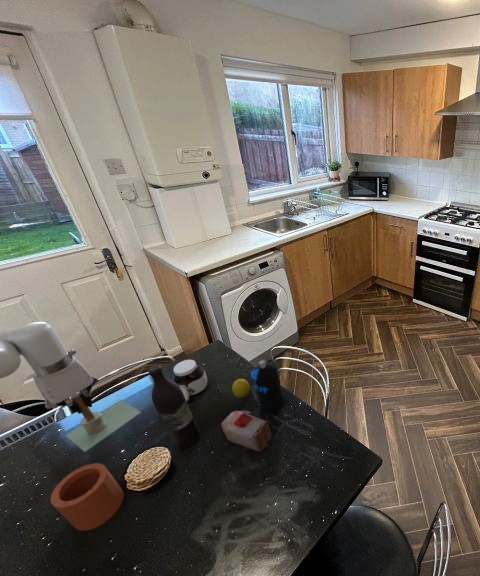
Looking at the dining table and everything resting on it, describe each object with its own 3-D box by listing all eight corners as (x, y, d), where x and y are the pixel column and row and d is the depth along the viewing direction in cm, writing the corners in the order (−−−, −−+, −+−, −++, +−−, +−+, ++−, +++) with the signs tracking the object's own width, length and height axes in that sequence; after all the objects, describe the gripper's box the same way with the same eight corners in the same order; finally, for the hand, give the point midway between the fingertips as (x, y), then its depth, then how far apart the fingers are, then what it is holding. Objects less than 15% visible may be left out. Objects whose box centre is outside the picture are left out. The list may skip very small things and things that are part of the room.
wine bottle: (173, 452, 93) (135, 381, 79) (176, 433, 99) (141, 363, 84) (200, 444, 96) (167, 372, 81) (201, 425, 102) (171, 356, 87)
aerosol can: (277, 391, 114) (268, 349, 104) (288, 404, 109) (279, 362, 99) (256, 404, 109) (243, 361, 99) (266, 418, 104) (255, 375, 94)
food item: (222, 442, 96) (214, 421, 92) (240, 421, 103) (233, 401, 98) (259, 456, 93) (252, 435, 88) (275, 433, 99) (270, 412, 94)
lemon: (232, 401, 110) (226, 385, 106) (240, 389, 115) (236, 373, 111) (246, 403, 110) (241, 387, 106) (254, 391, 114) (250, 375, 110)
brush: (92, 437, 97) (69, 404, 90) (84, 431, 99) (61, 398, 92) (110, 425, 101) (88, 392, 93) (102, 419, 103) (80, 387, 95)
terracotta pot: (86, 539, 74) (63, 516, 69) (65, 517, 78) (42, 493, 73) (132, 498, 82) (114, 474, 77) (111, 480, 86) (93, 456, 81)
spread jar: (209, 378, 120) (201, 355, 114) (208, 400, 111) (199, 376, 105) (173, 388, 115) (163, 364, 110) (169, 411, 106) (157, 387, 101)
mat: (85, 453, 93) (84, 452, 93) (65, 436, 98) (65, 435, 98) (141, 413, 106) (141, 412, 105) (122, 400, 110) (121, 399, 110)
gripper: (80, 343, 94) (106, 386, 103) (7, 377, 82) (44, 423, 91) (93, 350, 91) (119, 394, 100) (19, 387, 79) (56, 434, 88)
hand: (83, 408), depth 95 cm, fingers closed on brush
